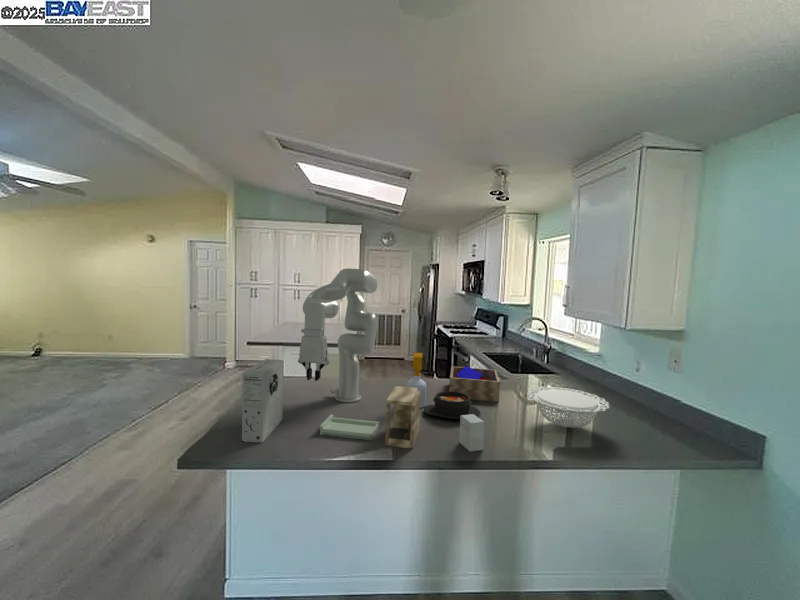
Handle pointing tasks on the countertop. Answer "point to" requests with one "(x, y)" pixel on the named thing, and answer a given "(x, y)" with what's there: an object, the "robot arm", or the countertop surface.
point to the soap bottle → (418, 378)
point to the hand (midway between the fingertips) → (313, 379)
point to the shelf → (403, 415)
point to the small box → (471, 432)
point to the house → (470, 374)
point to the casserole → (451, 405)
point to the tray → (349, 428)
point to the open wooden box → (476, 385)
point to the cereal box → (262, 400)
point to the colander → (567, 405)
